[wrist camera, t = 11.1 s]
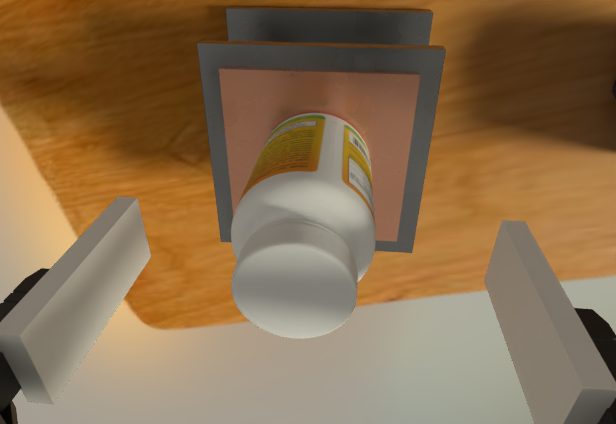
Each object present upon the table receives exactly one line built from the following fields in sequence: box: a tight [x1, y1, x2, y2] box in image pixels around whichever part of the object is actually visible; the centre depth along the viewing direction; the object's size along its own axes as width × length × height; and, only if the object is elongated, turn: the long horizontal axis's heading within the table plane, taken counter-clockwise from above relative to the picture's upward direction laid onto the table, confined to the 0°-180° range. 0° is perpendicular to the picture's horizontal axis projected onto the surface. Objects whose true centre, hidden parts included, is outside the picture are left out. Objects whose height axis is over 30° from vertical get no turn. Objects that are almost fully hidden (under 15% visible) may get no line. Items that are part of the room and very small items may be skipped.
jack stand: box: [197, 6, 446, 253], centre depth 26 cm, size 12×12×9 cm
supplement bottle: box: [231, 113, 376, 338], centre depth 18 cm, size 5×5×10 cm
